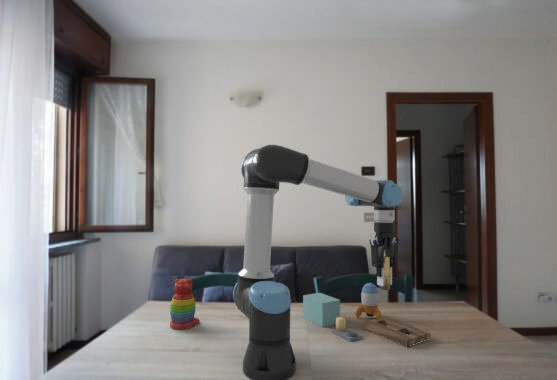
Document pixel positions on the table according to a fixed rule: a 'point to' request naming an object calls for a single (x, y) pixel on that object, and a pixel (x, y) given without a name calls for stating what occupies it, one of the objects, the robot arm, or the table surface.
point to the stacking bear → (183, 306)
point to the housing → (321, 309)
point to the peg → (386, 273)
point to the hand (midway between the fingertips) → (384, 284)
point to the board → (396, 331)
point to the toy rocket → (369, 301)
